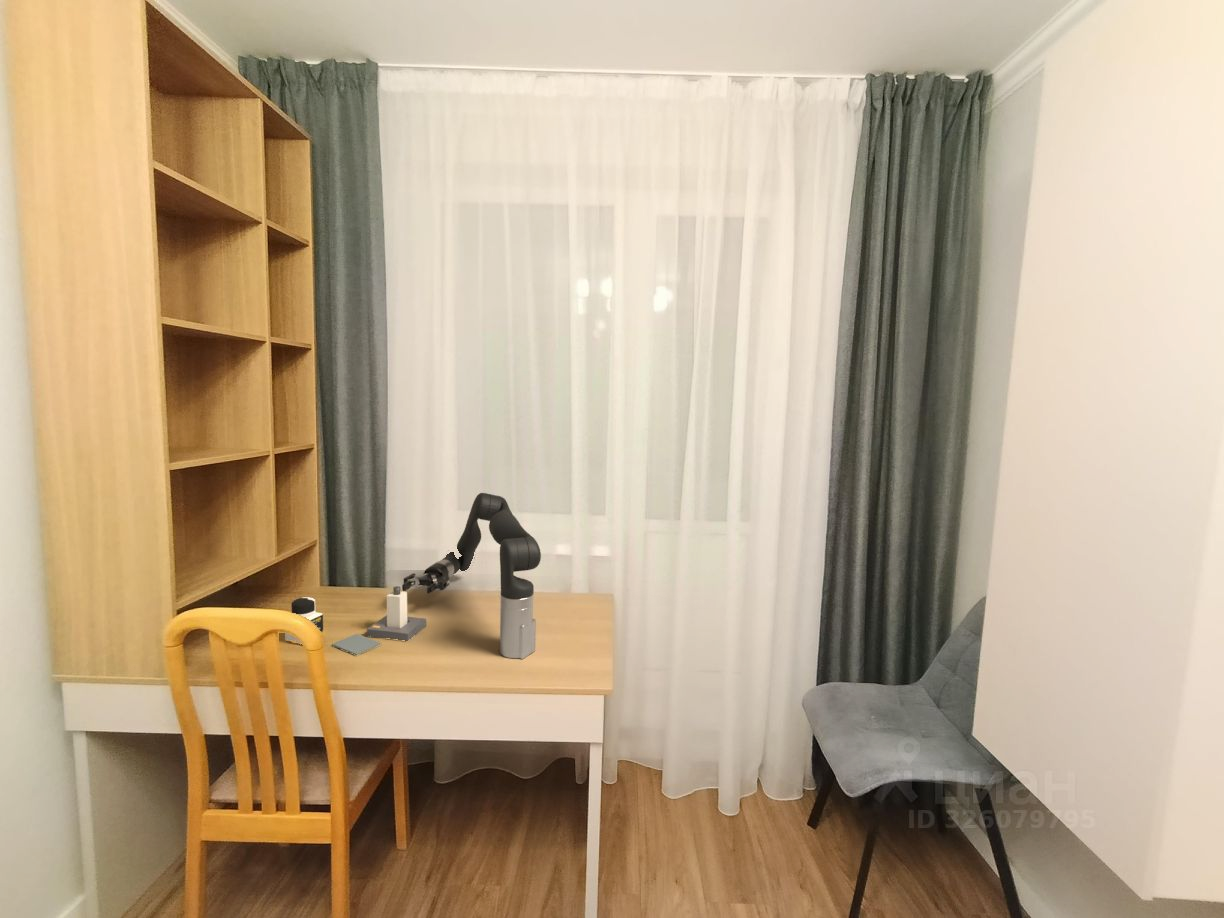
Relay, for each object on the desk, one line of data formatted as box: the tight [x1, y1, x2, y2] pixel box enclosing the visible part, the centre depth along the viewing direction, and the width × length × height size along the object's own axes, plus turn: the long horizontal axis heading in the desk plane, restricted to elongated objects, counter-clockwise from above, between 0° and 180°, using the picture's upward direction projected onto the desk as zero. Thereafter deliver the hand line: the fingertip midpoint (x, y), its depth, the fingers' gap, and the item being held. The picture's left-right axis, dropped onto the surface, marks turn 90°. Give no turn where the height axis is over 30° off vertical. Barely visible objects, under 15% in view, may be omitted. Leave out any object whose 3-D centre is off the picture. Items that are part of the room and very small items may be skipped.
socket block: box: [366, 614, 427, 642], centre depth 169 cm, size 13×11×3 cm
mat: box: [331, 633, 382, 656], centre depth 159 cm, size 11×8×1 cm
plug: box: [386, 585, 408, 628], centre depth 168 cm, size 4×4×14 cm
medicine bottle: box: [284, 596, 324, 646], centre depth 162 cm, size 7×7×12 cm
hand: (415, 589), depth 179 cm, fingers open, 8 cm apart
